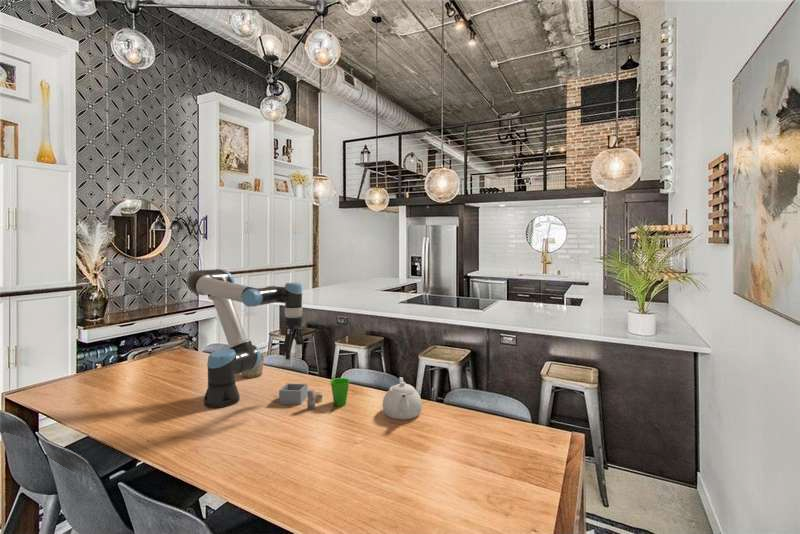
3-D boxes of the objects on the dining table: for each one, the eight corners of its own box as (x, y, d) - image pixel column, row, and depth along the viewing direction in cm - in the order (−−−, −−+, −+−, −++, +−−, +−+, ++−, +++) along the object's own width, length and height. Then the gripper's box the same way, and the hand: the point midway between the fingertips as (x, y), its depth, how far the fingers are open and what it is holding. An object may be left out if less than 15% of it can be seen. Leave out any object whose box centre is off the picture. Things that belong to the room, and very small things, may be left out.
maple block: (313, 404, 182) (313, 395, 182) (313, 401, 186) (312, 392, 186) (322, 403, 183) (322, 394, 183) (321, 400, 187) (321, 392, 187)
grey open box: (279, 405, 180) (279, 390, 179) (287, 397, 189) (287, 383, 189) (300, 406, 179) (300, 391, 179) (307, 398, 189) (307, 383, 188)
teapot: (432, 412, 174) (432, 381, 173) (403, 425, 160) (403, 392, 160) (400, 401, 186) (401, 372, 186) (372, 412, 173) (372, 381, 173)
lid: (293, 416, 169) (293, 395, 169) (302, 405, 181) (302, 386, 180) (320, 417, 168) (320, 396, 168) (328, 406, 180) (328, 387, 180)
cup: (351, 401, 186) (351, 378, 185) (347, 408, 177) (347, 384, 176) (332, 400, 186) (333, 377, 186) (327, 408, 177) (327, 383, 177)
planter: (259, 379, 217) (259, 360, 217) (236, 378, 218) (236, 359, 217) (267, 372, 230) (267, 354, 230) (245, 371, 230) (245, 354, 230)
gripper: (292, 321, 170) (292, 370, 171) (309, 312, 195) (309, 355, 196) (275, 320, 171) (275, 369, 171) (294, 312, 195) (294, 354, 196)
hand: (293, 362), depth 183 cm, fingers open, 13 cm apart
